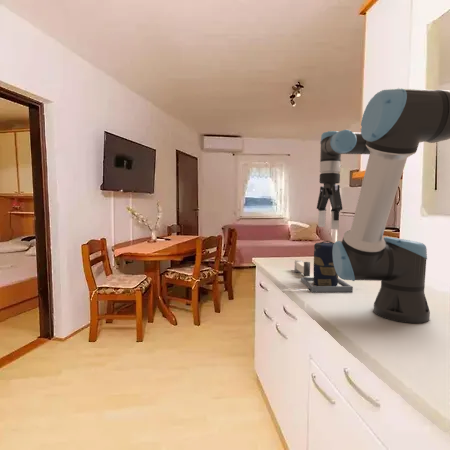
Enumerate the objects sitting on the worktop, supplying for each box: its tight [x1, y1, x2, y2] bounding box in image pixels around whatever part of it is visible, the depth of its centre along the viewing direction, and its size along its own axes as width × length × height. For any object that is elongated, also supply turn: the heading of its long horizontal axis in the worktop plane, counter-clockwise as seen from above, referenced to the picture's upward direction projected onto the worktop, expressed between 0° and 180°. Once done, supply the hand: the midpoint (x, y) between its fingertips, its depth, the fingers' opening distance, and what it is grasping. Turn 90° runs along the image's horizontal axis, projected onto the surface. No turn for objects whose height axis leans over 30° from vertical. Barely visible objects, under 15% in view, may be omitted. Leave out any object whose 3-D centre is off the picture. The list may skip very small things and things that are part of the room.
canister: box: [312, 240, 339, 286], centre depth 130 cm, size 10×10×18 cm
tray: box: [300, 277, 354, 294], centre depth 131 cm, size 15×16×2 cm
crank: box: [293, 259, 311, 277], centre depth 148 cm, size 16×4×7 cm, turn 3°
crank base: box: [290, 269, 302, 274], centre depth 154 cm, size 6×6×1 cm
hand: (327, 228), depth 129 cm, fingers open, 13 cm apart
